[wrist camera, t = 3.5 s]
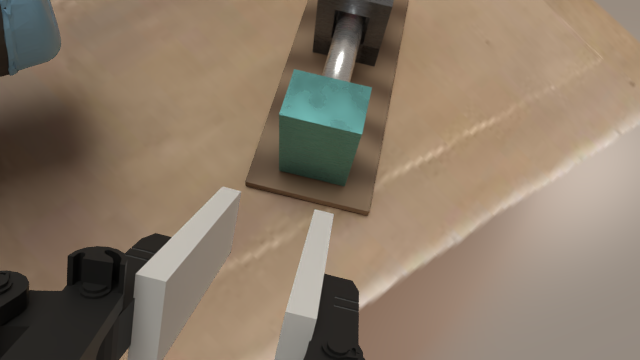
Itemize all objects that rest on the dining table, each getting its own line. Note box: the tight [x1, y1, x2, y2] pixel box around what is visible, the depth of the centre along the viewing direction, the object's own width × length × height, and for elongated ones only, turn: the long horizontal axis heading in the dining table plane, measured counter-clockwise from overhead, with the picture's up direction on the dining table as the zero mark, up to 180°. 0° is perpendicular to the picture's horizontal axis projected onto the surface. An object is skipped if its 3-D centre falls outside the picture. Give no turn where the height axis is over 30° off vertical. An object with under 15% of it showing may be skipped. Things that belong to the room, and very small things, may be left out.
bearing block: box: [312, 0, 394, 67], centre depth 49 cm, size 10×8×9 cm
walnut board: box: [245, 0, 408, 215], centre depth 50 cm, size 33×13×1 cm, turn 167°
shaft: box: [279, 11, 372, 186], centre depth 43 cm, size 21×7×10 cm, turn 167°
